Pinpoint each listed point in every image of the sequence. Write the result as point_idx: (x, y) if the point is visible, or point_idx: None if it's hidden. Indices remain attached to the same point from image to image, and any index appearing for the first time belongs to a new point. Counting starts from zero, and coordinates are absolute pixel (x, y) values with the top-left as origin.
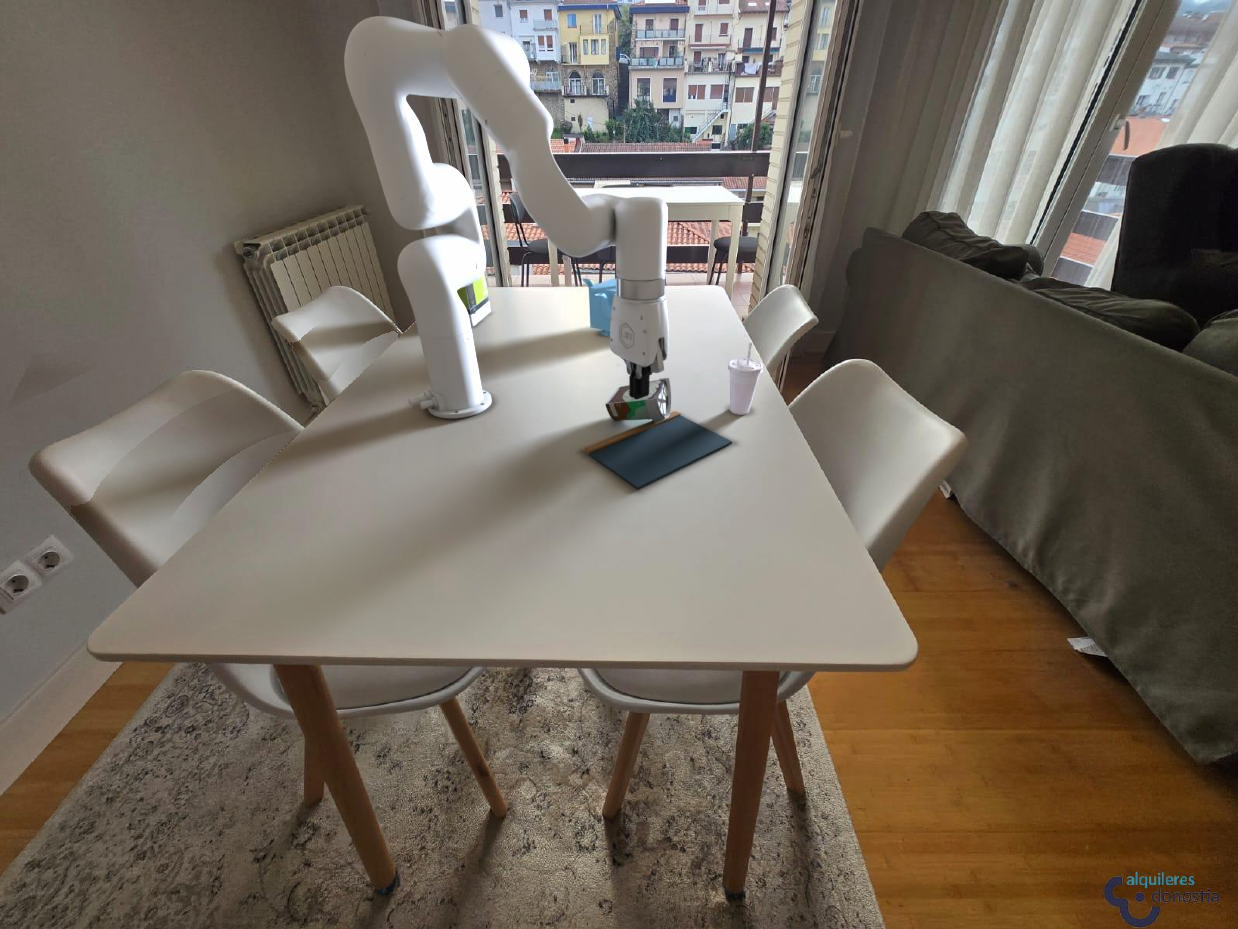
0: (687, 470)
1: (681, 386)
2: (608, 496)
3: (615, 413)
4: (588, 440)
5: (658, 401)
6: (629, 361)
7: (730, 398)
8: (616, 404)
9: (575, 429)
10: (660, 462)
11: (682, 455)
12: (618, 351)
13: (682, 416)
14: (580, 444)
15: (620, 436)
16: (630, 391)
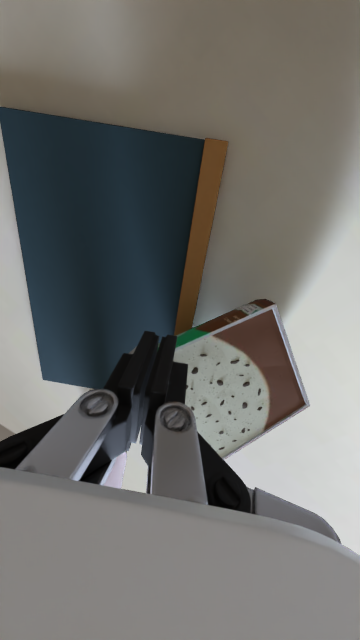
0: (14, 261)
1: (234, 471)
2: (12, 3)
3: (240, 307)
4: (257, 205)
5: None
6: (162, 482)
7: (113, 468)
8: (238, 317)
9: (324, 225)
10: (57, 242)
11: (53, 293)
12: (243, 594)
13: None
14: (262, 171)
15: (192, 263)
16: (168, 345)
